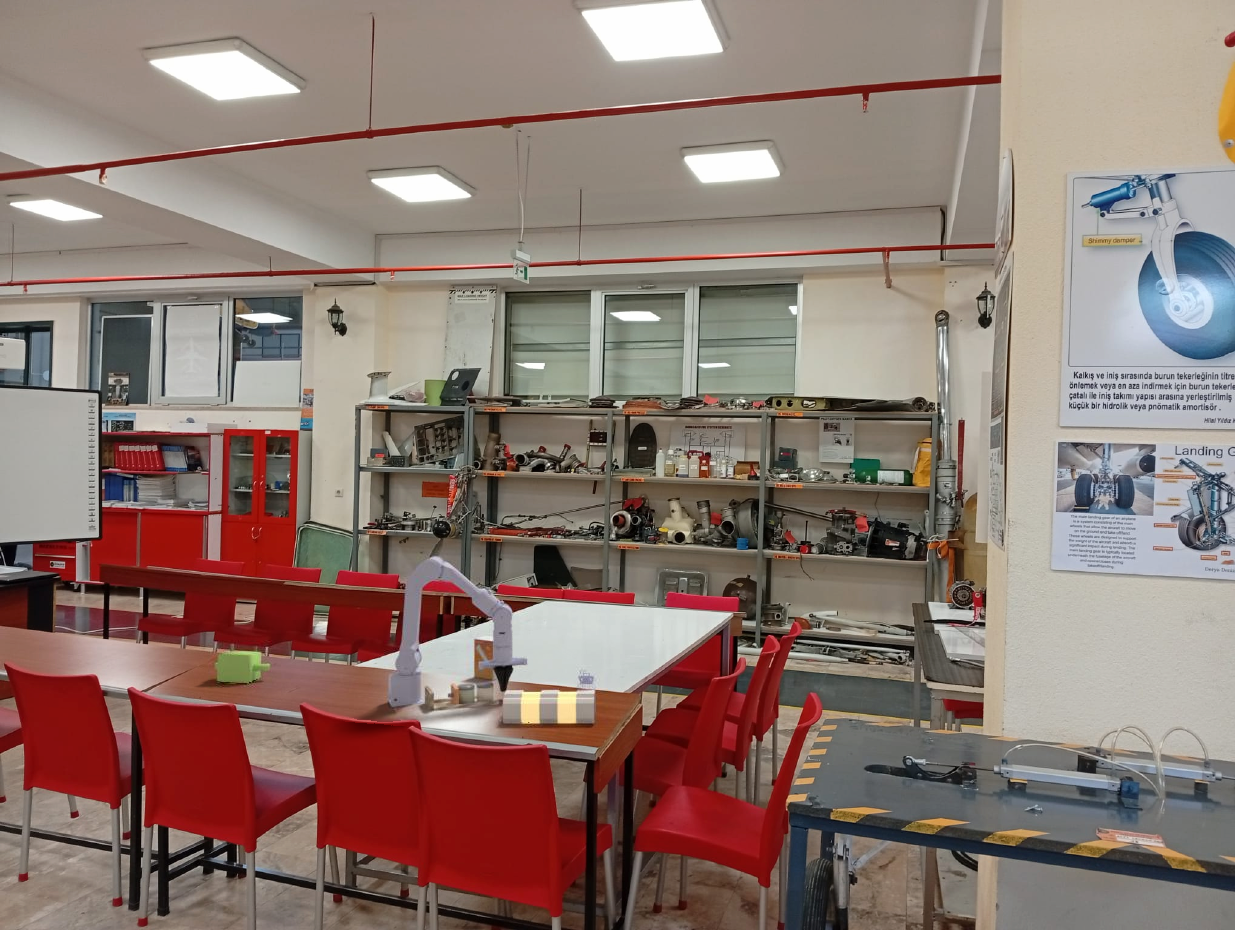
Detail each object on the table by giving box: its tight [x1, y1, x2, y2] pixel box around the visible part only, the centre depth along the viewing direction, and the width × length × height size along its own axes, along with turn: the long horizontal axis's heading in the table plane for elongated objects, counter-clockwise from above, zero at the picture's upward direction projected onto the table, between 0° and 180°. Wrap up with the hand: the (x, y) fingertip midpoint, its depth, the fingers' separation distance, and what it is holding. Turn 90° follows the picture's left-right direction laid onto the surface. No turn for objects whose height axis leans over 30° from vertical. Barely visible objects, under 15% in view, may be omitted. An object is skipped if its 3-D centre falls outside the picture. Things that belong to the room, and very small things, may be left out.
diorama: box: [502, 669, 596, 724], centre depth 244 cm, size 25×10×13 cm, turn 90°
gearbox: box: [214, 650, 271, 684], centre depth 290 cm, size 18×10×10 cm, turn 83°
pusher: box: [447, 683, 459, 705], centre depth 257 cm, size 2×7×5 cm, turn 22°
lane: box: [424, 685, 500, 713], centre depth 258 cm, size 20×10×6 cm, turn 112°
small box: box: [473, 635, 498, 681], centre depth 293 cm, size 8×6×13 cm
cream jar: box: [476, 681, 495, 702], centre depth 261 cm, size 5×5×5 cm
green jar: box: [456, 683, 476, 704], centre depth 259 cm, size 5×5×5 cm
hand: (503, 690), depth 263 cm, fingers closed
